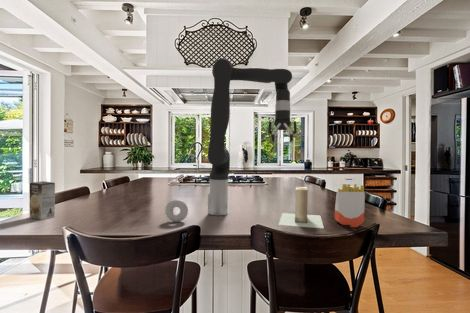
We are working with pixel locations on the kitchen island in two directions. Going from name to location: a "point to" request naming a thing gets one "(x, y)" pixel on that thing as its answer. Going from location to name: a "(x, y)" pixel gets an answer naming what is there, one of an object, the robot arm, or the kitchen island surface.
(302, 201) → the maple block
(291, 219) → the sage mat
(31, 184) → the coffee box
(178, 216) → the donut
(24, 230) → the kitchen island surface
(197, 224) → the kitchen island surface
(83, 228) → the kitchen island surface
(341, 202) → the french fries container
